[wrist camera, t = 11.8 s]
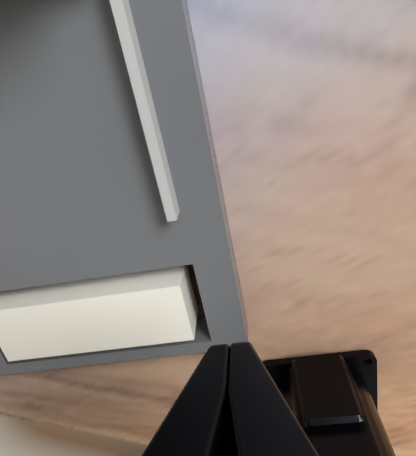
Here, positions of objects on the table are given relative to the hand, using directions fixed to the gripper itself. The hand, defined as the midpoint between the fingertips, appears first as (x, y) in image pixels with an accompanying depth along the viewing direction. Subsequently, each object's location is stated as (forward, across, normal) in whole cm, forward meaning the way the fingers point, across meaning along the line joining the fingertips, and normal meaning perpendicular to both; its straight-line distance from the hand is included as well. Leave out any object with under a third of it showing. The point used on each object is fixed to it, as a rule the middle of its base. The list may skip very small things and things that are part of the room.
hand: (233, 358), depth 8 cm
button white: (+11, +8, +5) cm, 14 cm away
